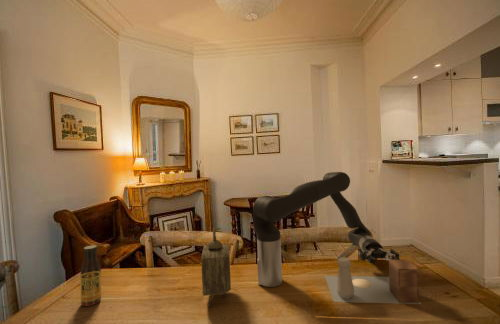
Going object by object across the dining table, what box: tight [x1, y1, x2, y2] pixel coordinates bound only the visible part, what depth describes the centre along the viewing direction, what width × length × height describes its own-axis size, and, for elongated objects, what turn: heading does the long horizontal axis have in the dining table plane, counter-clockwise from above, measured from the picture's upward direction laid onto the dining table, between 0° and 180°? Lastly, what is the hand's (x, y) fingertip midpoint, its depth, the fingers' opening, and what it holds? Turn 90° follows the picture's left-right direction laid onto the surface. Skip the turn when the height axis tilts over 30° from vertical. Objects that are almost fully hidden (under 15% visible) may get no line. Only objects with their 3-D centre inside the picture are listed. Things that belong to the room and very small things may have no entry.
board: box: [324, 275, 422, 305], centre depth 91 cm, size 27×18×1 cm, turn 83°
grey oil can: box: [201, 226, 232, 308], centre depth 90 cm, size 14×9×25 cm, turn 5°
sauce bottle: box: [79, 244, 102, 307], centre depth 90 cm, size 7×6×20 cm
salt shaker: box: [336, 256, 354, 300], centre depth 87 cm, size 6×6×13 cm
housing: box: [388, 259, 420, 304], centre depth 85 cm, size 6×7×11 cm
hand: (385, 262), depth 96 cm, fingers open, 8 cm apart
